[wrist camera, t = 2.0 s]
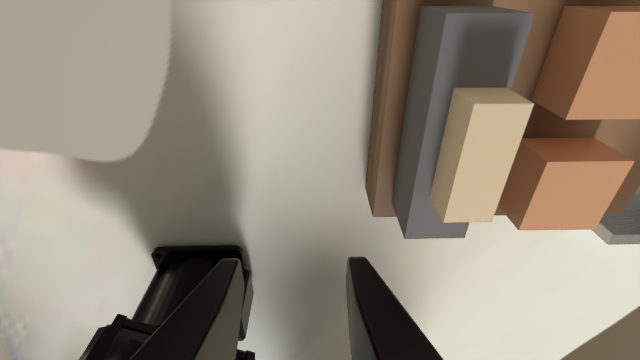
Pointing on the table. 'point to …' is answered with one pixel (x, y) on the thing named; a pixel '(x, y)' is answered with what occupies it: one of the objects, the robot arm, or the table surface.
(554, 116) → the board
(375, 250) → the table surface
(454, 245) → the table surface
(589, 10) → the tile
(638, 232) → the tray
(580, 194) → the tile
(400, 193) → the grey and beige block
